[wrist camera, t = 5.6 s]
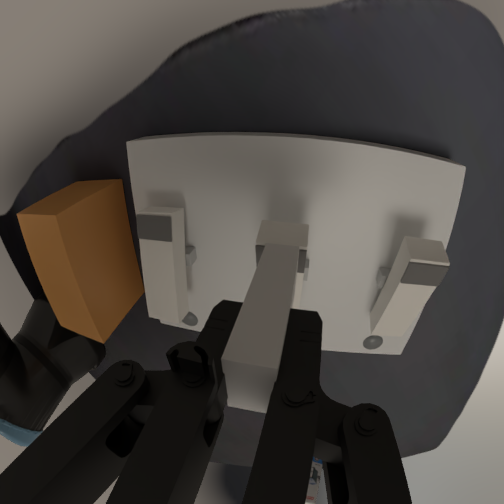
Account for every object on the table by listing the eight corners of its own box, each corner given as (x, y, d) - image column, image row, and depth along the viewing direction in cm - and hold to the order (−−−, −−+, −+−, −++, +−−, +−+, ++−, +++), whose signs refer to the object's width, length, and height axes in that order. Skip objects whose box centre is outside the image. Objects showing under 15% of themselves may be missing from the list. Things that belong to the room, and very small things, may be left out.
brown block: (102, 281, 28) (61, 325, 22) (77, 181, 22) (16, 213, 16) (145, 291, 27) (103, 343, 20) (122, 178, 21) (55, 215, 15)
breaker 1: (159, 305, 21) (148, 317, 19) (151, 206, 18) (136, 211, 17) (188, 311, 21) (178, 324, 19) (183, 207, 18) (170, 213, 16)
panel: (171, 306, 28) (155, 330, 24) (144, 136, 19) (116, 144, 16) (396, 335, 23) (402, 363, 20) (450, 159, 15) (473, 171, 12)
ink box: (325, 452, 41) (317, 504, 31) (306, 456, 43) (298, 505, 33) (293, 441, 40) (282, 498, 30) (275, 446, 42) (262, 498, 32)
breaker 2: (265, 303, 21) (260, 325, 20) (262, 219, 15) (255, 243, 14) (298, 307, 20) (295, 330, 19) (309, 224, 15) (306, 249, 13)
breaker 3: (369, 314, 19) (370, 336, 18) (404, 235, 14) (411, 260, 12) (399, 317, 19) (401, 338, 18) (441, 241, 13) (450, 265, 12)
